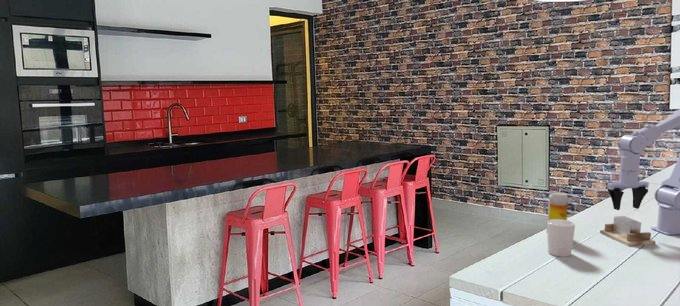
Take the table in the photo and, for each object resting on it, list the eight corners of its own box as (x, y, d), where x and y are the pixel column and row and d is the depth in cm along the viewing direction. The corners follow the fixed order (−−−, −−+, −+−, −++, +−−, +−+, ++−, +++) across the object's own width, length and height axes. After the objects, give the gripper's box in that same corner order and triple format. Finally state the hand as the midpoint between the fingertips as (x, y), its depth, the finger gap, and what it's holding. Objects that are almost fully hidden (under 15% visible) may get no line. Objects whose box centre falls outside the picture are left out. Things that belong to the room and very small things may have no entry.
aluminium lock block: (623, 231, 185) (624, 216, 184) (639, 238, 177) (641, 222, 176) (612, 231, 184) (614, 216, 183) (629, 239, 176) (630, 223, 175)
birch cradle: (625, 231, 188) (625, 221, 187) (654, 243, 174) (655, 233, 174) (599, 232, 186) (600, 223, 186) (628, 245, 173) (628, 235, 172)
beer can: (567, 239, 180) (570, 196, 177) (548, 238, 181) (550, 195, 179) (563, 233, 186) (566, 192, 183) (545, 232, 187) (547, 191, 184)
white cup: (571, 250, 169) (573, 220, 167) (574, 258, 161) (576, 227, 160) (545, 247, 171) (547, 218, 169) (546, 256, 164) (548, 224, 162)
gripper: (639, 167, 186) (636, 204, 188) (602, 168, 183) (599, 207, 185) (654, 170, 179) (651, 209, 181) (616, 172, 176) (613, 212, 178)
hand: (626, 208), depth 183 cm, fingers open, 7 cm apart
